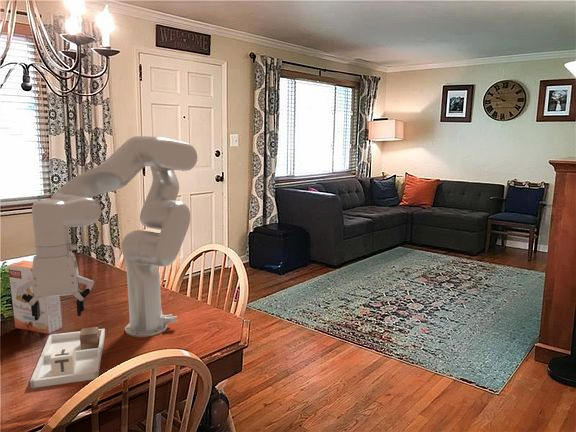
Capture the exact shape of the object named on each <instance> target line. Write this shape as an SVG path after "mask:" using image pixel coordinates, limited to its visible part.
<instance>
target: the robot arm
mask: <svg viewBox="0 0 576 432" xmlns="http://www.w3.org/2000/svg"><path fill="white" fill-rule="evenodd" d="M197 162H198V152H197V150H196V148H195V147H194V146H193V145H192V144H191V143H189V142H184V141H180V140H175V139H170V138H166V137H162V136H161V137H160V136H148V135H147V136H146V135H144V136H143V135H138V136H137V135H136V136H132V137H130V138H128V139H127V140H125V142H124V143H123V144H122V145H120V146H119V147H118V148H117V149H115V151H114V152H113V153H112V154H111V155H110V156H108V158H106V159H105V160H104V161H103V162H102V163H100V165H99V164H98V165H97V166H95V167H92V168H90V169H88V170H86V171H84V172H82V173H81V174H78V175H77V176H75V177H73V178H71V179H70V180H68V181H66V183H64V184H63V185H62V186H61V187H60V188H59V189H58V190H57V191H56V192H55V193H53V195H52V196H51V197H50V198H49V199H42V200H38V201H35V202H33V204H32V206H31V217H32V226H33V234H34V236H33V237H34V246H35V255H34V257H33V261H32V262H33V267H32V280H30V281H28V282H26V283H24V284H23V285H21V286H19V287H18V288H17V292H18V293H19V294H20V296H21V297H22V299H23V300H25V301H26V302H28V303H29V305H31V311H32V316H34V317H35V321H36V320H38V319H39V318H40V305H39V302H38V299H39V298H40V297H52V296H60V297H61V296H70V295H72V296H73V297H74V298H76V313H77V316H78V317H81V316H82V314H83V312H84V311H85V302H84V301H85V300H84V299H85V298H86V297H87V296H88V295H89V294H90V293H91V290H92V289H93V287H94V285H95V281H94V280H93V279H91V278H90V279H89V278H87V277H84V276H82V275H80V273H79V267H78V263H77V259H76V254H75V253H74V252H72V251H76V250H77V249H78V248H77V244H73V243H71V241H70V230H69V229H70V228H73V227H74V228H76V227H89V226H91V225H93V224H96V222H97V221H99V219H100V218H101V216H102V207H101V204H100V203H99V202H98V201H97V200H96V199H95V198H93V197H96V196H98V195H103V194H106V193H111V192H114V191H118V190H121V189H123V188H125V187H126V186H127V185H128V184H129V183H130V182H131V181H132V180H133V179H134V178H135V177H136V176H137V175H138V174H139V173H140V172H141V171H142V170H143V169H144V168H145V167H150V171H151V174H152V175H151V176H152V182H151V186H150V189H149V191H148V193H147V196H146V199H145V201H144V202H143V205H142V208H141V210H140V213H139V221H140V224H142V225H143V227H145V228H149V229H152V230H157V231H160V232H155V231H150V230H145V229H144V230H140V229H136V230H131V231H130V232H128V233H127V234H126V235H125V236H124V237H123V239H122V242H121V253H122V258H123V260H124V264H125V269H126V279H127V281H126V282H127V299H128V312H129V315H128V316H129V322H128V324H127V325H126V326H125V327H124V332H125V333H126V335H128V336H130V337H134V338H135V337H136V338H146V337H152V336H156V335H160V334H161V333H165V331H166V330H168V324H170V323H171V324H172V323H178V316H177V315H175V316H173V314H172V313H171V314H166V315H165V314H163V310H162V296H161V295H162V294H161V276H160V275H161V274H160V269H159V267H169V266H170V265H171V264H173V263H174V262H175V261H176V259H177V258H178V255H179V253H180V251H181V248H182V245H183V243H184V240H185V237H186V234H187V233H188V230H189V227H190V224H191V211H190V208H189V207H188V205H187V204H186V203H184V202H183V201H179V200H177V197H178V195H179V191H180V184H179V180H178V177H177V175H176V173H175V171H181V172H184V171H185V172H186V171H191V170H192V169H193V168H194V167H195V166H196V165H197ZM80 284H84V285H86V287H85V289H84V290H81V289H80ZM31 286H32V289H33V294H34V296H31V295H30V294H28V293H27V292H26V290H25V289H27V288H29V287H31Z"/></svg>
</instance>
